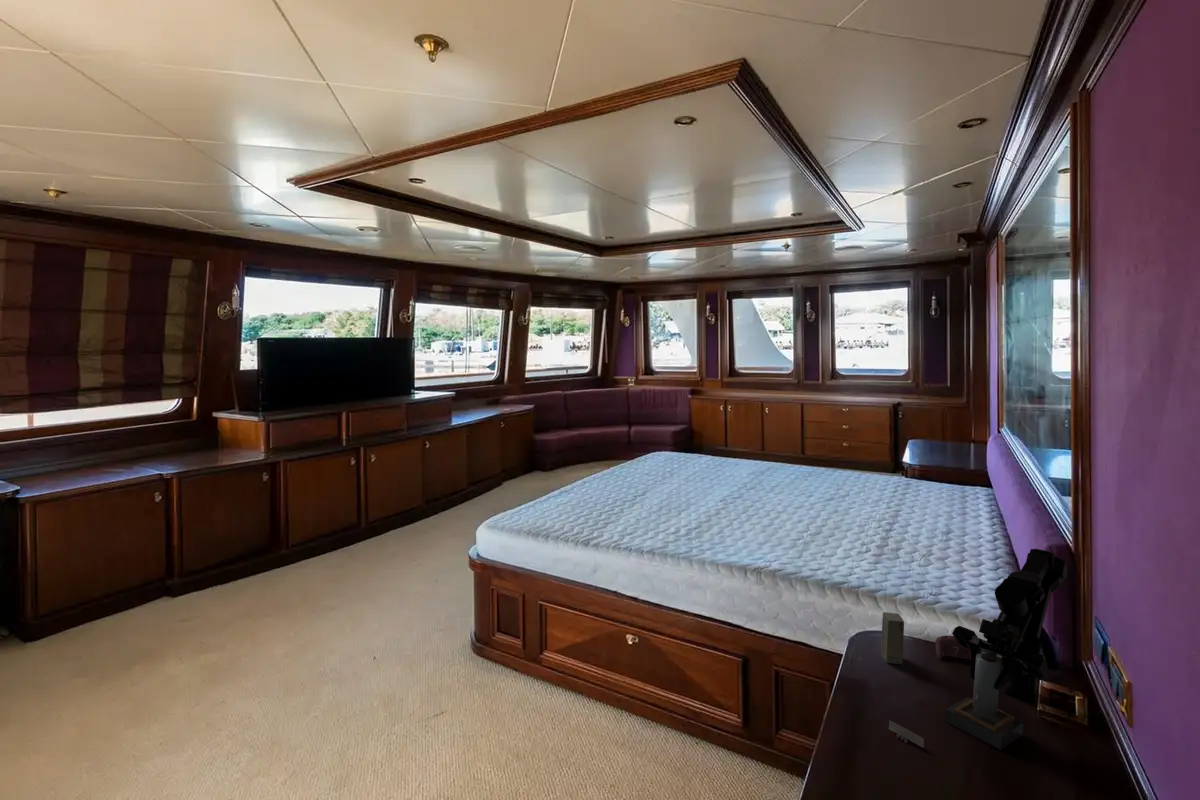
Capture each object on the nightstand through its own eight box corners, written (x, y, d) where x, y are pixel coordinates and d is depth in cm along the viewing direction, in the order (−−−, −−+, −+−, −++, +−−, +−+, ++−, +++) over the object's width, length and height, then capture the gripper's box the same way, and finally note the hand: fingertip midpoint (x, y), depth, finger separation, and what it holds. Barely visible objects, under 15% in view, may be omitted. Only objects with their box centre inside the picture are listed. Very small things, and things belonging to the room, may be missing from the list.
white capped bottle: (975, 700, 145) (979, 645, 143) (998, 708, 141) (1003, 652, 140) (970, 708, 141) (974, 652, 140) (994, 717, 138) (999, 660, 137)
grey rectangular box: (967, 708, 149) (968, 693, 149) (1022, 735, 139) (1023, 719, 139) (944, 721, 144) (946, 705, 144) (1000, 750, 134) (1001, 733, 134)
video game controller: (973, 665, 173) (971, 638, 176) (977, 665, 169) (976, 638, 172) (934, 659, 177) (933, 633, 179) (937, 658, 172) (936, 632, 175)
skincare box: (902, 665, 169) (905, 622, 168) (885, 663, 170) (888, 620, 169) (896, 654, 176) (898, 612, 175) (880, 652, 177) (882, 611, 176)
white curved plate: (914, 755, 132) (915, 741, 132) (879, 735, 139) (880, 722, 139) (923, 749, 134) (924, 736, 134) (888, 730, 141) (889, 717, 141)
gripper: (958, 592, 149) (930, 647, 144) (1047, 622, 133) (1019, 685, 128) (973, 617, 154) (946, 671, 149) (1060, 648, 138) (1033, 710, 133)
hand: (983, 683), depth 140 cm, fingers closed on white capped bottle, 5 cm apart
